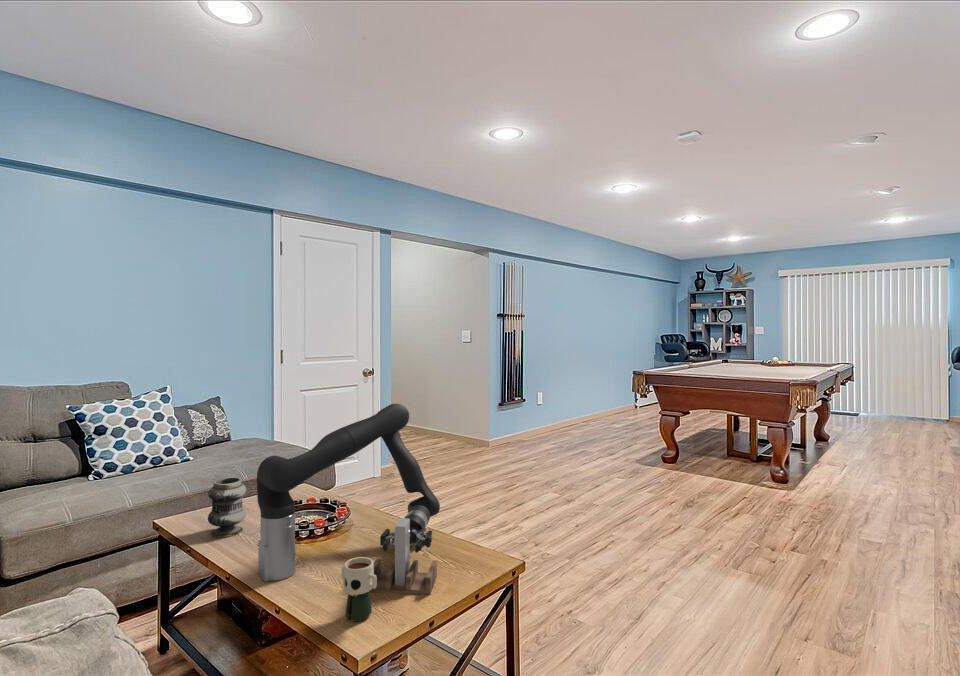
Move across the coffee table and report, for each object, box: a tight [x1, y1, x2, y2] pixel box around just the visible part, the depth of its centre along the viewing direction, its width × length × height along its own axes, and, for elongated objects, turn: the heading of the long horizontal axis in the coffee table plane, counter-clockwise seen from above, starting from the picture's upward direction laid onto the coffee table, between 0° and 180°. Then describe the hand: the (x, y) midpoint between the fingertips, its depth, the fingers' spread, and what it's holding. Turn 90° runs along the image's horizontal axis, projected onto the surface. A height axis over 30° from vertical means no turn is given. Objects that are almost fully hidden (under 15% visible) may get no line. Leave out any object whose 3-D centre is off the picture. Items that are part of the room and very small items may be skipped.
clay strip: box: [394, 517, 411, 586], centre depth 143 cm, size 6×3×16 cm, turn 176°
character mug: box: [340, 556, 377, 622], centre depth 127 cm, size 11×7×13 cm, turn 61°
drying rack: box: [369, 558, 438, 595], centre depth 144 cm, size 10×17×4 cm, turn 85°
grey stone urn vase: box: [207, 476, 248, 538], centre depth 180 cm, size 12×12×18 cm
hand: (401, 548), depth 142 cm, fingers open, 8 cm apart
